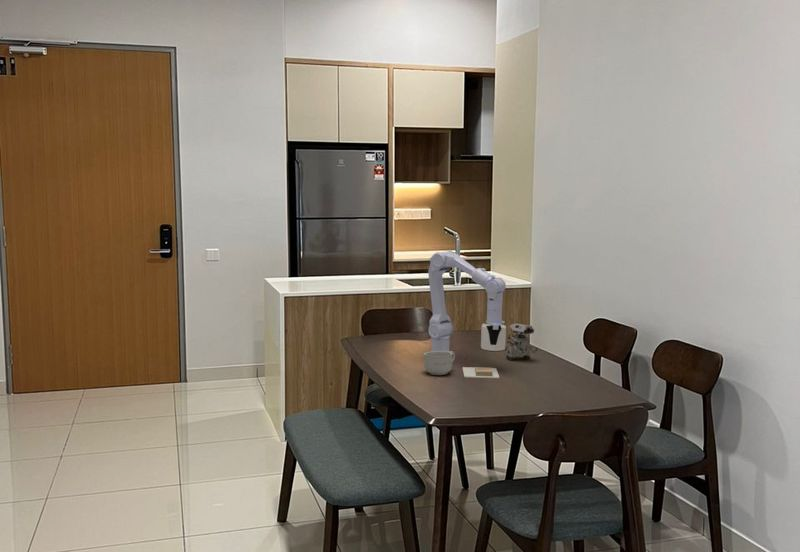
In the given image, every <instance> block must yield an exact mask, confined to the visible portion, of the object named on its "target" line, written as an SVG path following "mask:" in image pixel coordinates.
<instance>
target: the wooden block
mask: <svg viewBox="0 0 800 552" xmlns="http://www.w3.org/2000/svg"><path fill="white" fill-rule="evenodd" d="M491 368H492V367H483V366H481V367H480V366H479V367H478V366H475V373H476V376H492V373H493V372H492V369H491Z"/></svg>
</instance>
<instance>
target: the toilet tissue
mask: <svg viewBox="0 0 800 552" xmlns="http://www.w3.org/2000/svg"><path fill="white" fill-rule="evenodd" d="M486 326H491V325H489V324H487V323H486V322H483V323H482V324H481V330H480V331H481V332H480V333H481V334H480V348H481V349H482V350H484V351H492V352H500V351H505V350H506V342H507V341H506V340H507V325H504V324H501V325H500V326H501V328H502V329H501V331H500V333H499V336H498V340H497V344H496V345H491V344H490V338H489V332H488V329H487V327H486Z"/></svg>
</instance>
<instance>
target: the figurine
mask: <svg viewBox="0 0 800 552" xmlns="http://www.w3.org/2000/svg"><path fill="white" fill-rule="evenodd" d="M508 328H509V330H512V332H513V333H512V334H511V333H509V334H508V335H507V341H506V342H507V344H509V346H508V347H507V349H506V355H505V357H506V358H505V359H506V360H509V361H514V356H517V357H523V359H525V360H527V359H529V360H531V356H530V355H531V352H530V351H532V353H533V354H536V353H537V352H538V347H536V348H535V349H534V348H533V347H532V345H531V344H530V342H531V341H530V340H531V339H530V338H528V336H526V335H531V334H535V329H534V327H533V326H532V325H528V324H521V323H517V322H516V323H511V325H509V327H508ZM513 334H515V335H513Z"/></svg>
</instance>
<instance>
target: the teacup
mask: <svg viewBox="0 0 800 552" xmlns="http://www.w3.org/2000/svg"><path fill="white" fill-rule="evenodd" d="M423 359H424V361H423V362H424V368H425V371H426V372H427V373H429V375H433V376H443V375H447V374H448V373H449V372H450V371H451V370H452V369H453V368H452V367H453V362H454V361H455V359H456V354H455V351H452V350H449V352H448V351H426V352H424V353H423Z"/></svg>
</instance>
